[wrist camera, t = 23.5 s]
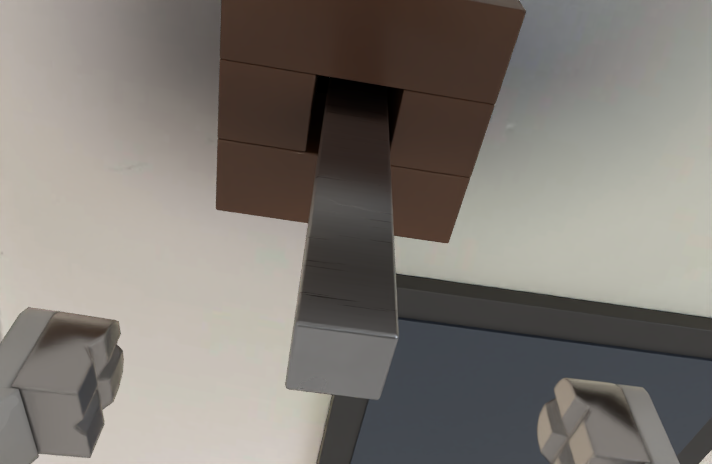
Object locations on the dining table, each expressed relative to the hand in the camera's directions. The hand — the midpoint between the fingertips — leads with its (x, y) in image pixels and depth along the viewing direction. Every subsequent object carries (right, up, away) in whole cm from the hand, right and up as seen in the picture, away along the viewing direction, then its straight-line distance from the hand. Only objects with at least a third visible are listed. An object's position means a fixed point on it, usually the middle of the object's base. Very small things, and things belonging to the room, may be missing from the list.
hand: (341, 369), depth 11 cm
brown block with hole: (0, +9, +12) cm, 16 cm away
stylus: (0, +9, +13) cm, 16 cm away
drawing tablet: (+9, -17, +32) cm, 37 cm away
